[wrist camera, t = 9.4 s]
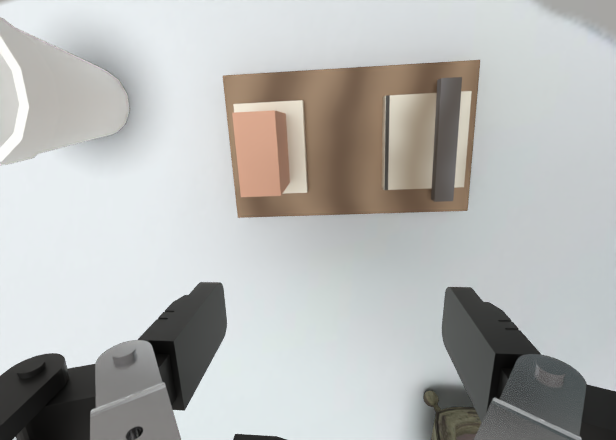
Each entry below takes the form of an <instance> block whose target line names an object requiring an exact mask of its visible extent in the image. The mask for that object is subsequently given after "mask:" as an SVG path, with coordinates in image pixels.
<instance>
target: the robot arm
mask: <svg viewBox="0 0 616 440" xmlns="http://www.w3.org/2000/svg"><path fill="white" fill-rule="evenodd" d="M226 328H227V318H226V308H225V299H224V289H223V285H222V283H218V282H200V283H199V284H198V285H197V286H196V287H195V288H194V290H193V291H192V292H191V293H190V294H189V295H184V296H183V297H181V298H179V299H178V300H176V301H174V302H173V303H172V304H171V305H170V306H169V307H168V308H167V309H166V310H165V312H163V313H162V314H161V315H160V316H159V318H158V319H157V320H156V321H155V322H154V323H153V324H152V325H151V326H150V327H149V328H148V329H147V330H146V331H145V332H144V334H143V335H142V336H141V337H140V338H139V339H138V340H132V341H127V342H123V343H120V344H118V345H115V346H113V347H111V348H110V349H108V350H107V351H105V352H104V353H103V354H101V356H100V357H99V358H98V359H97V361H96V364H92V365H86V366H81V367H75V368H69V369H67V365H66V362H65V358H64V357H63V356H62V355H60V354H54V353H52V354H43V355H39V356H35V357H32V358H29V359H27V360H25V361H22V362H20V363H18V364H16V365H15V366H13V367H11V368H10V369H9V370H7V371H6V372H5V373H3V374H2V375H1V376H0V440H12V439H13V438H14V437H15V436H16V438H17V440H181V437H180V434H179V430H178V427H177V423H176V420H175V417H174V413H173V410H185V409H186V407H187V405H188V403H189V401H190V400H191V398H192V396H193V394H194V392H195V390H196V389H197V387H198V385H199V383H200V381H201V379H202V377H203V376H204V374H205V372H206V370H207V368H208V366H209V364H210V363H211V361H212V359H213V357H214V355H215V353H216V352H217V350H218V348H219V346H220V344H221V342H222V340H223V339H224V336H225V333H226ZM442 337H443V342H444V345H445V347H446V350H447V352H448V354H449V356H450V358H451V360H452V362H453V364H454V366H455V368H456V370H457V372H458V375H459V377H460V379H461V381H462V383H463V385H464V387H465V389H466V391H467V393H468V395H469V398H470V400H471V402H472V404H473V406H474V408H475V410H476V412H477V414H478V416H479V418H480V421H481V425H480V427H479V429H478V432H477V434H476V436H475V438H474V440H616V392H615V391H611V390H607V389H603V388H598V387H594V386H591V385H587V384H586V381H585V379H584V378H583V376H582V375H581V374H580V373H579V372H578V371H577V370H575V369H574V368H573V367H571V366H570V365H568V364H566V363H564V362H562V361H560V360H558V359H555V358H552V357H549V356H545V355H541V354H540V352H539V351H538V350H537V349H536V348H535V347H534V346H533V345H532V343H531V342H530V341H529V340H528V339H527V338H526V337H525V335H524V334H523V333H522V332H521V331H519V330H518V328H517V326H516V325H515V324H514V323H513V322H511V320H510V318H509V317H508V316H507V315H506V314H505V313H504V312H503V311H502V310H501V309H499V308H498V307H496V306H494V305H493V304H491V303H489V302H483V301H482V300H481V299H480V297H479V296H478V295H477V294H476V293H475V291H474V290H473V289H472V288H470V287H448V288H447V289H446V292H445V300H444V311H443V321H442ZM233 440H286V439H283V438H280V437H277V436H260V435H244V434H235V436H234V439H233Z"/></svg>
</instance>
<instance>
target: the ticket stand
mask: <svg viewBox="0 0 616 440" xmlns="http://www.w3.org/2000/svg"><path fill="white" fill-rule="evenodd" d="M479 68H480V60H470V61H454V62H438V63H422V64H405V65H389V66H373V67H356V68H340V69H324V70H308V71H291V72H275V73H259V74H242V75H226V76H223V84H224V93H225V102H226V112H227V121H228V130H229V139H230V149H231V158H232V167H233V176H234V186H235V195H236V204H237V213H238V218H240V217H273V216H307V215H340V214H373V213H407V212H440V211H467V210H468V198H469V186H470V175H471V163H472V151H473V139H474V127H475V116H476V104H477V92H478V80H479ZM298 100H303V101H304V122H305V143H306V163H307V184H308V191H307V193H285V194H282V195H281V196H262V197H241V194H240V184H239V174H238V165H237V155H236V146H235V136H234V126H233V117H232V113H234V106H233V104H243V103H261V102H279V101H298Z"/></svg>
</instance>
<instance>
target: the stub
mask: <svg viewBox="0 0 616 440" xmlns="http://www.w3.org/2000/svg"><path fill="white" fill-rule="evenodd" d="M233 106H234V113H232V117H233V126H234V136H235V146H236V155H237V165H238V174H239V184H240V194H241V197H262V196H281V195H282V194H285V193H307V191H308V184H307V163H306V143H305V122H304V101H303V100H298V101H279V102H261V103H243V104H233Z"/></svg>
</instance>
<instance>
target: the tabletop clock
mask: <svg viewBox="0 0 616 440" xmlns="http://www.w3.org/2000/svg"><path fill="white" fill-rule="evenodd" d="M423 398H424V401H425V403H426V404H427V405H428V406H431V407H434V409H435V411H436V415H435V420H434V426H433V431H432V436H431V440H474V438H475V436H476V434H477V432H478V429H479V427H480V425H481V421H480V418H479V416H478V414H477V412H476V410H475V408H474V407H451V408H445V409H442V410H441V409H440V407H439V406H438V405H437V403H438V401H439V399H438V396H437V394H436V393H435V392H433V391H426V392H425V394H424V396H423Z"/></svg>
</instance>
